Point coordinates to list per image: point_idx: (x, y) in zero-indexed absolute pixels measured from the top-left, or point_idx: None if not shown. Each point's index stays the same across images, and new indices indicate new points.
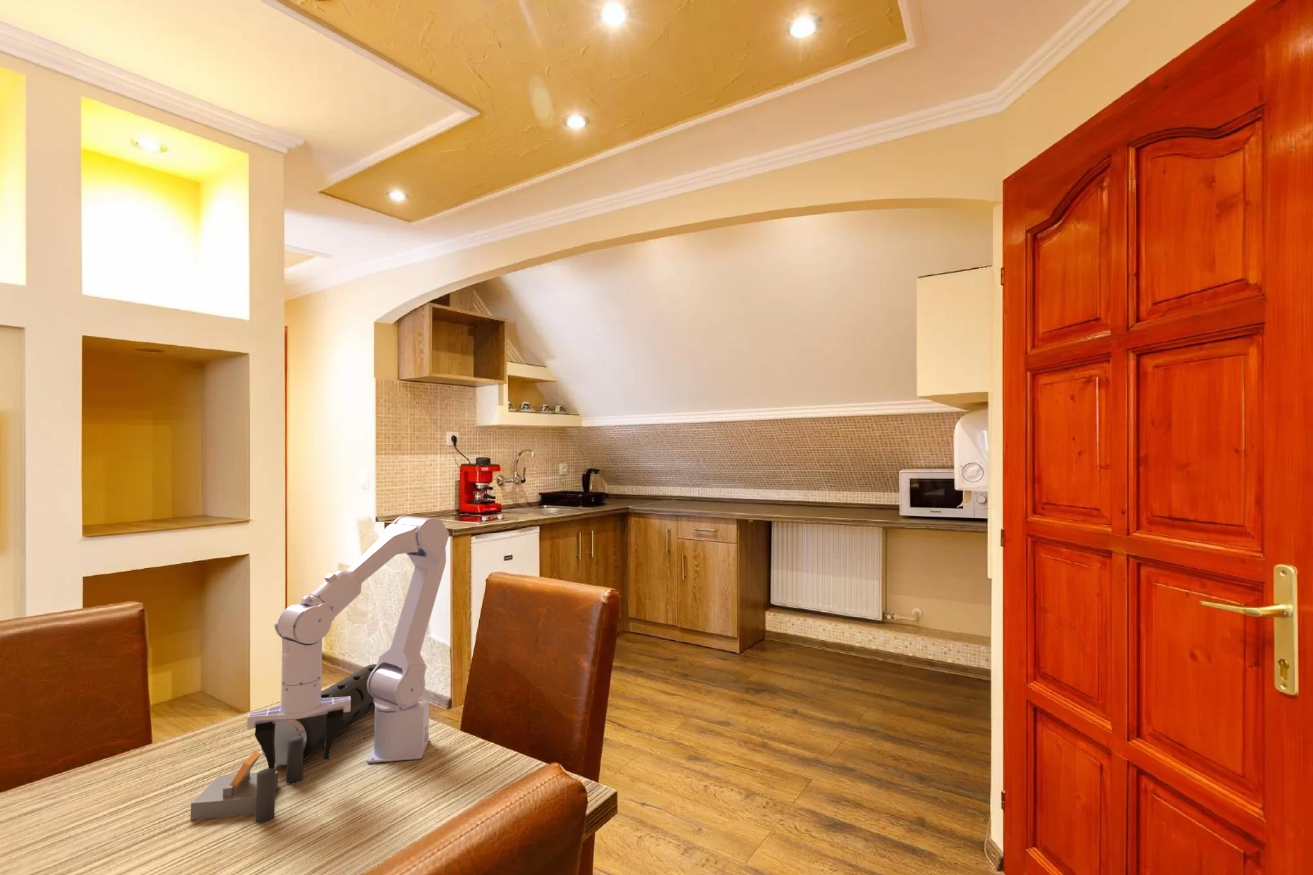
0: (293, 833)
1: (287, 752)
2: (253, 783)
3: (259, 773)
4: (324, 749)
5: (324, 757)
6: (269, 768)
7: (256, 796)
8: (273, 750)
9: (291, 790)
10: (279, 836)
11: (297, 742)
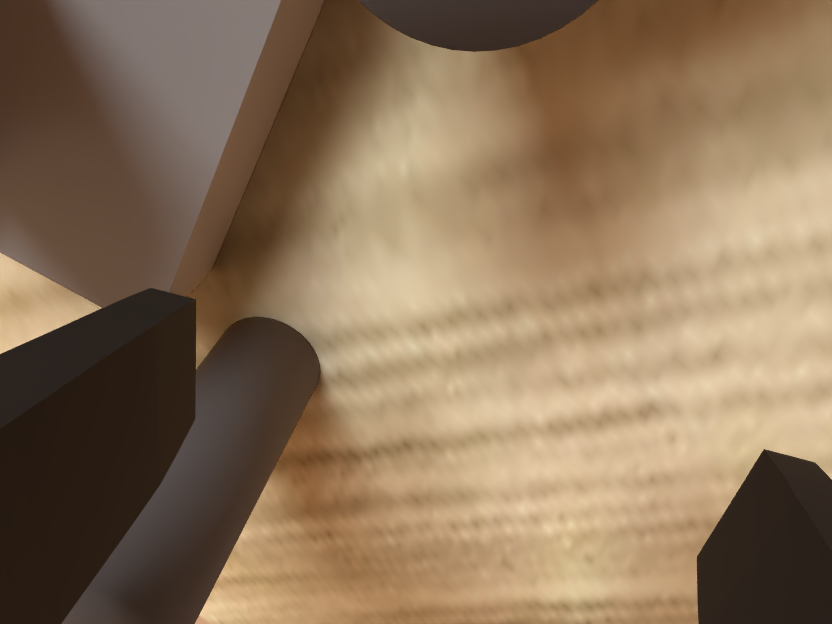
0: (396, 576)
1: None
2: (93, 56)
3: None
4: (763, 568)
5: (702, 597)
6: (114, 596)
7: None
8: (43, 559)
9: (468, 86)
10: (335, 555)
11: (491, 50)
